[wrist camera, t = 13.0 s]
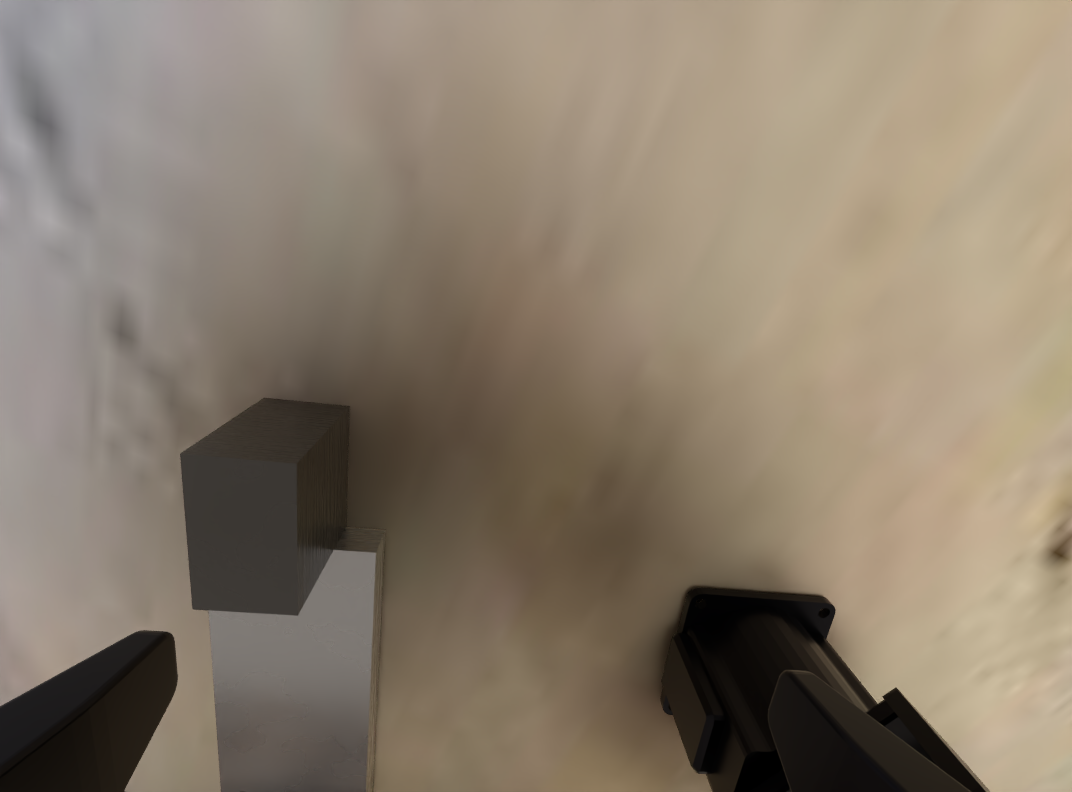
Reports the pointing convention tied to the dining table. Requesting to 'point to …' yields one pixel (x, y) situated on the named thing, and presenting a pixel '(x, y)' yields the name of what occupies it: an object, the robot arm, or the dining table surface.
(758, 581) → the dining table surface
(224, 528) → the blade tool
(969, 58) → the dining table surface
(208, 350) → the dining table surface
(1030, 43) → the dining table surface
